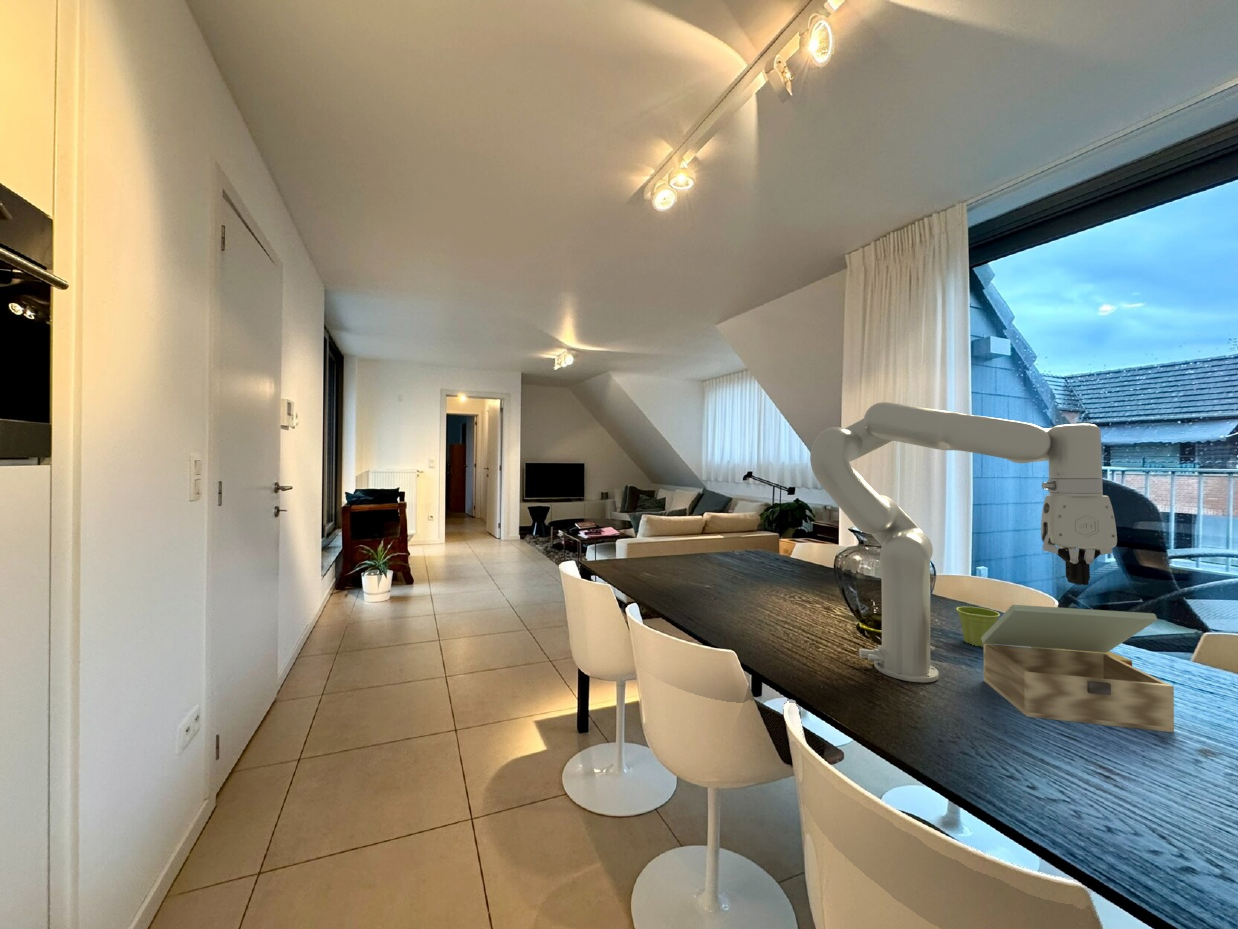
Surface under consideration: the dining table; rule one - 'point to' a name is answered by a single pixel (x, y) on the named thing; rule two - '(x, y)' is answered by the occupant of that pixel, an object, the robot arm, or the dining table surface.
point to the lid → (1066, 628)
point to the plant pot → (976, 623)
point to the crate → (1079, 687)
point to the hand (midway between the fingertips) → (1077, 583)
